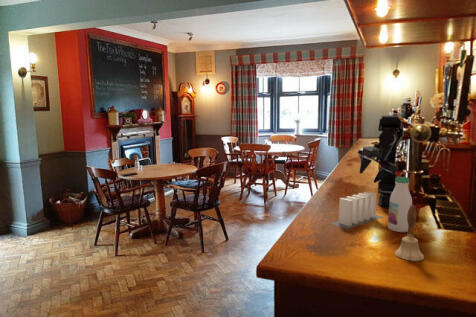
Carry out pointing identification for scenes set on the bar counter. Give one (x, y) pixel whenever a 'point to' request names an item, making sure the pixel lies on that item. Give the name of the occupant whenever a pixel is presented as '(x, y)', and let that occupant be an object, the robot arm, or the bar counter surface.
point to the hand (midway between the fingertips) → (367, 177)
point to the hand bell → (410, 240)
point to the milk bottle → (399, 205)
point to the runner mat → (355, 224)
